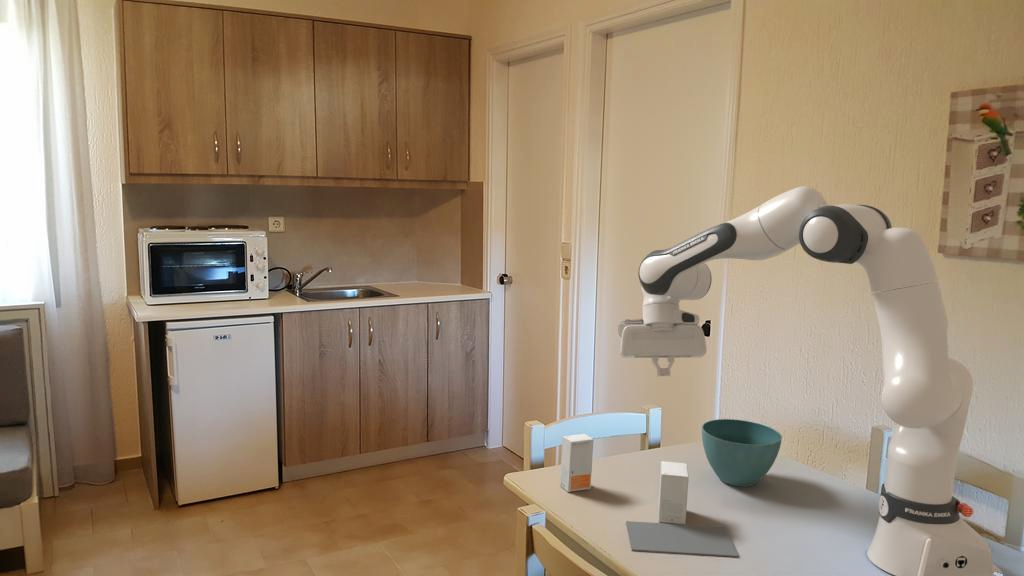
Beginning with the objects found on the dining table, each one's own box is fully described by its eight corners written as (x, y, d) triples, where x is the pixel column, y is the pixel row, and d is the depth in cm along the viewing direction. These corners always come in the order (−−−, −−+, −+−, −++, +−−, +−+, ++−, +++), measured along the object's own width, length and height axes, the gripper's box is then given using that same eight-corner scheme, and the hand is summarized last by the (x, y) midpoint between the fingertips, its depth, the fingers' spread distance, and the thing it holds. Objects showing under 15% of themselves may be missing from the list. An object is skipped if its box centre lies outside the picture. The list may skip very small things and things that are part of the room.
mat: (724, 528, 150) (724, 526, 150) (738, 557, 138) (738, 555, 138) (625, 522, 151) (626, 521, 151) (631, 550, 140) (631, 549, 139)
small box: (685, 525, 151) (689, 477, 149) (657, 522, 152) (661, 474, 150) (684, 509, 159) (687, 462, 157) (658, 506, 160) (661, 460, 158)
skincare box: (568, 493, 165) (570, 441, 163) (559, 485, 169) (561, 435, 167) (591, 489, 168) (594, 439, 166) (582, 482, 171) (584, 433, 170)
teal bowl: (792, 483, 175) (796, 434, 173) (749, 502, 163) (754, 449, 162) (726, 460, 189) (730, 414, 187) (683, 476, 177) (686, 427, 175)
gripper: (618, 316, 175) (620, 374, 172) (705, 316, 174) (709, 374, 170) (617, 322, 181) (618, 378, 178) (701, 321, 180) (704, 377, 176)
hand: (663, 376), depth 174 cm, fingers closed
